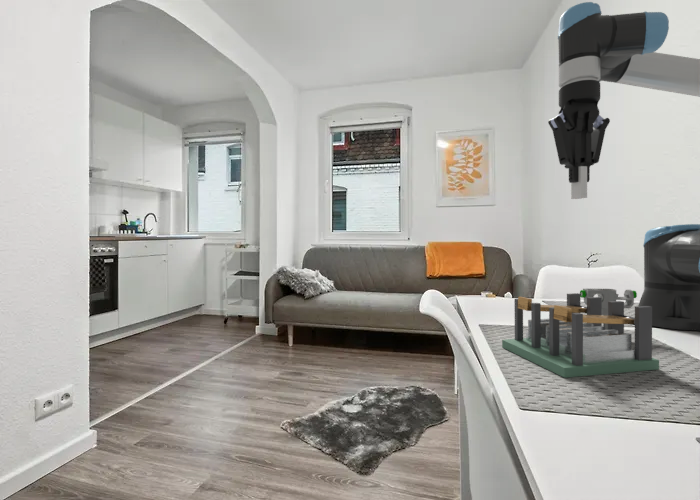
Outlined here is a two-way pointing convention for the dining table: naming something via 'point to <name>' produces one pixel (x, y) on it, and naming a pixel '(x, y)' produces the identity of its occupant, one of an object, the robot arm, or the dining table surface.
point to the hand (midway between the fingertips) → (579, 198)
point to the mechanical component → (609, 298)
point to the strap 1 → (546, 306)
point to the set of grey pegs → (593, 308)
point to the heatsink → (589, 342)
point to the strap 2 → (591, 317)
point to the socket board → (564, 363)
